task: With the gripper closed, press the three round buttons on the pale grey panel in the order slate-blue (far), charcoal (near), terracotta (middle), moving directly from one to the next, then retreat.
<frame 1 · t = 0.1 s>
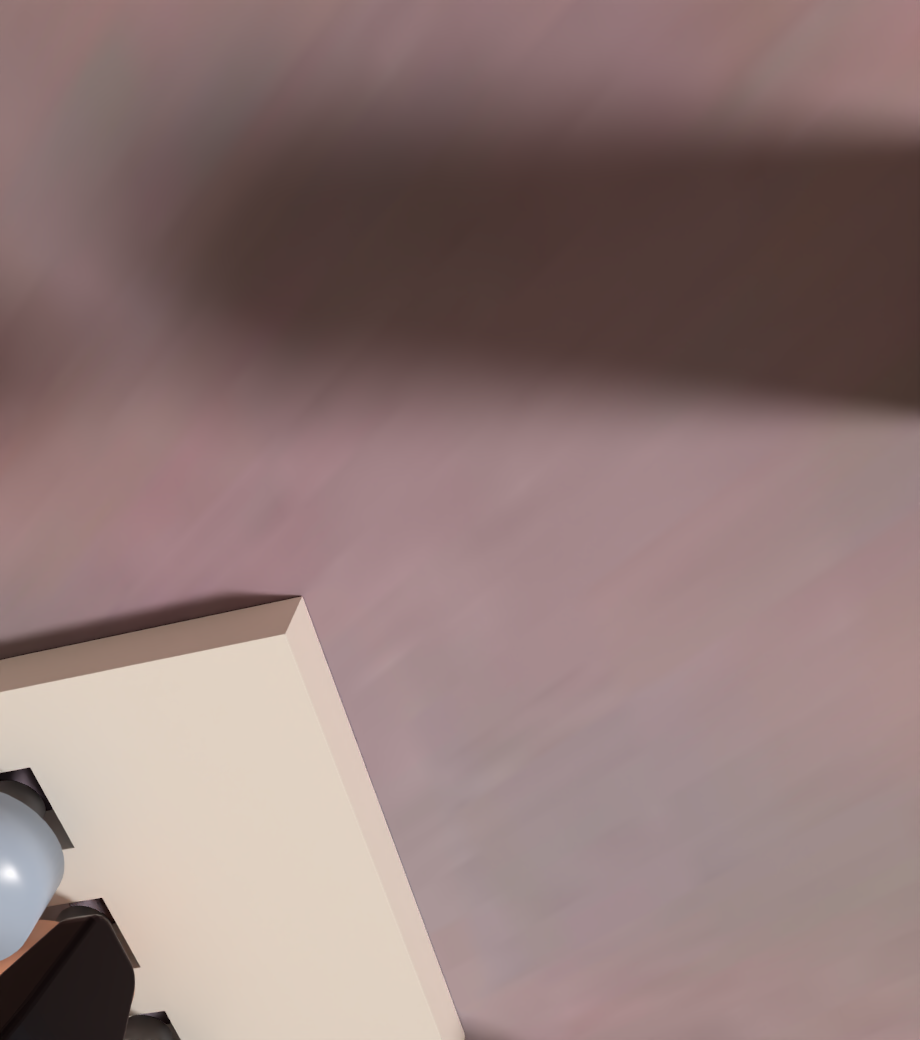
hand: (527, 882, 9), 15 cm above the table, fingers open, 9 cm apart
terracotta button: (58, 976, 26), point 3 cm above the table, slide at 0.0 cm
panel: (105, 889, 29), on the table
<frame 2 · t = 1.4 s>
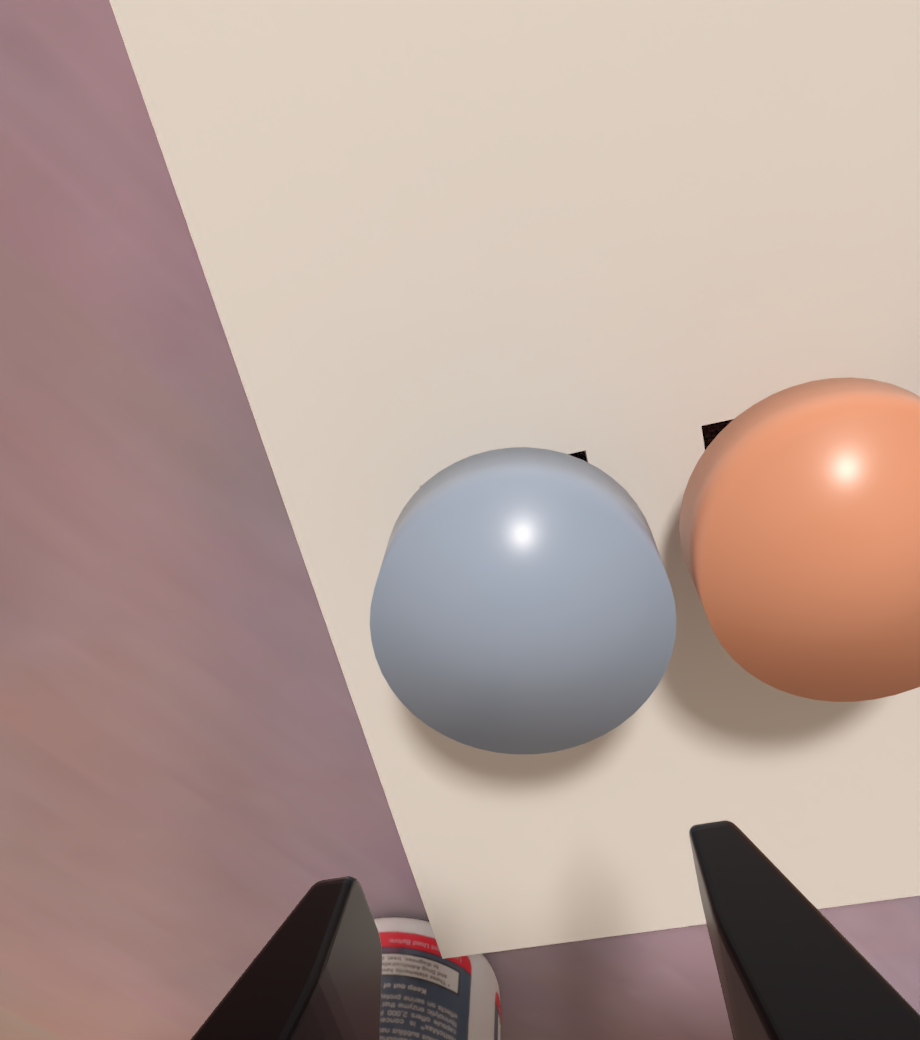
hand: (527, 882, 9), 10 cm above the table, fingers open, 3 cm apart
terracotta button: (823, 517, 14), point 3 cm above the table, slide at 0.0 cm
slate button: (520, 576, 15), point 3 cm above the table, slide at 0.0 cm
panel: (768, 450, 17), on the table
pill bottle: (404, 975, 24), on the table
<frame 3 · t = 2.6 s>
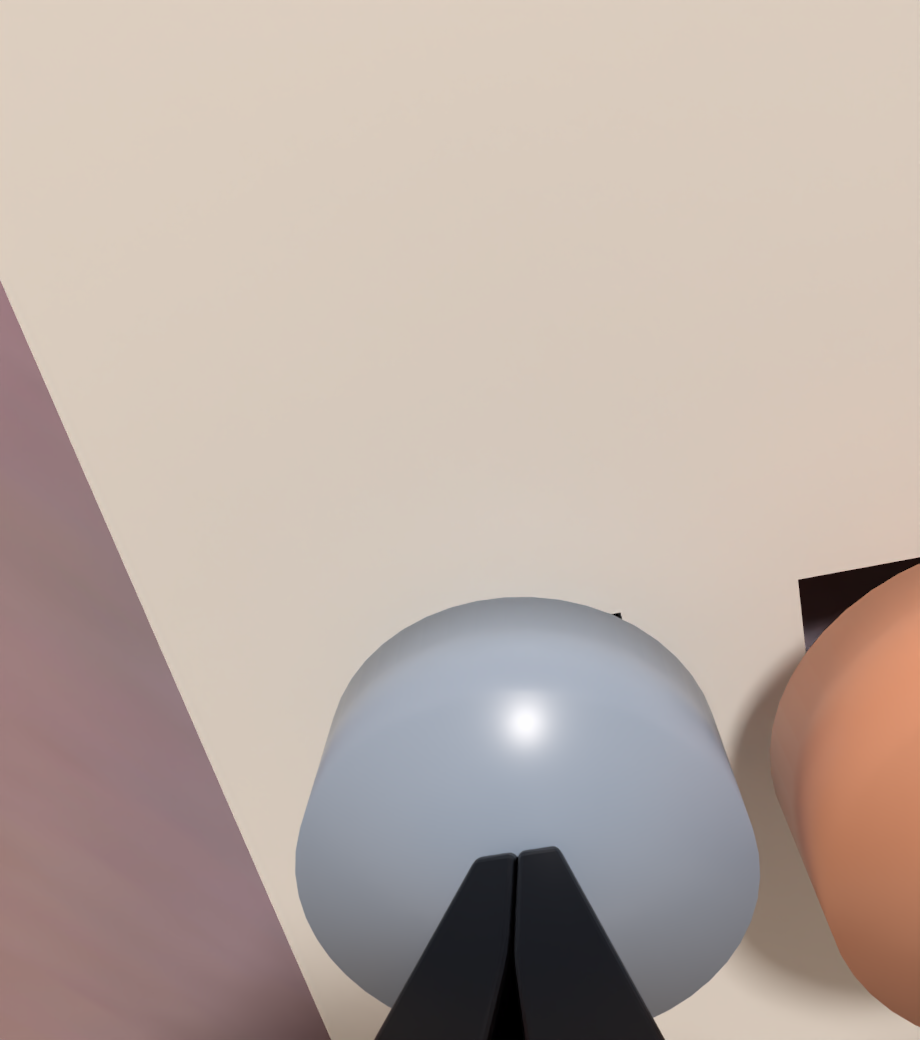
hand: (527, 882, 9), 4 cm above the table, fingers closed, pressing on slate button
slate button: (521, 768, 10), point 3 cm above the table, slide at 0.7 cm, touching gripper
panel: (876, 586, 12), on the table
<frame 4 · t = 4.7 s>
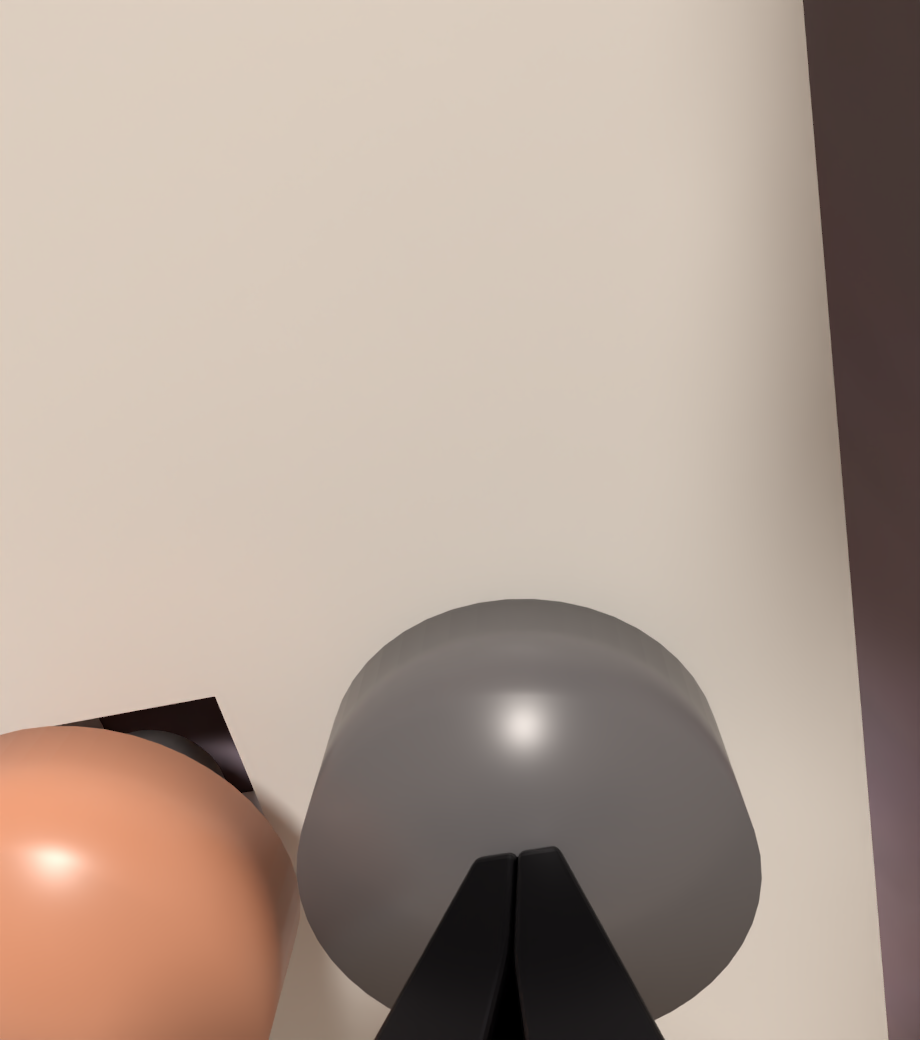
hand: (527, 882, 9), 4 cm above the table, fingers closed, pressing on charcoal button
charcoal button: (522, 770, 10), point 2 cm above the table, slide at 0.9 cm, touching gripper
terracotta button: (105, 887, 10), point 3 cm above the table, slide at 0.0 cm
panel: (197, 717, 13), on the table
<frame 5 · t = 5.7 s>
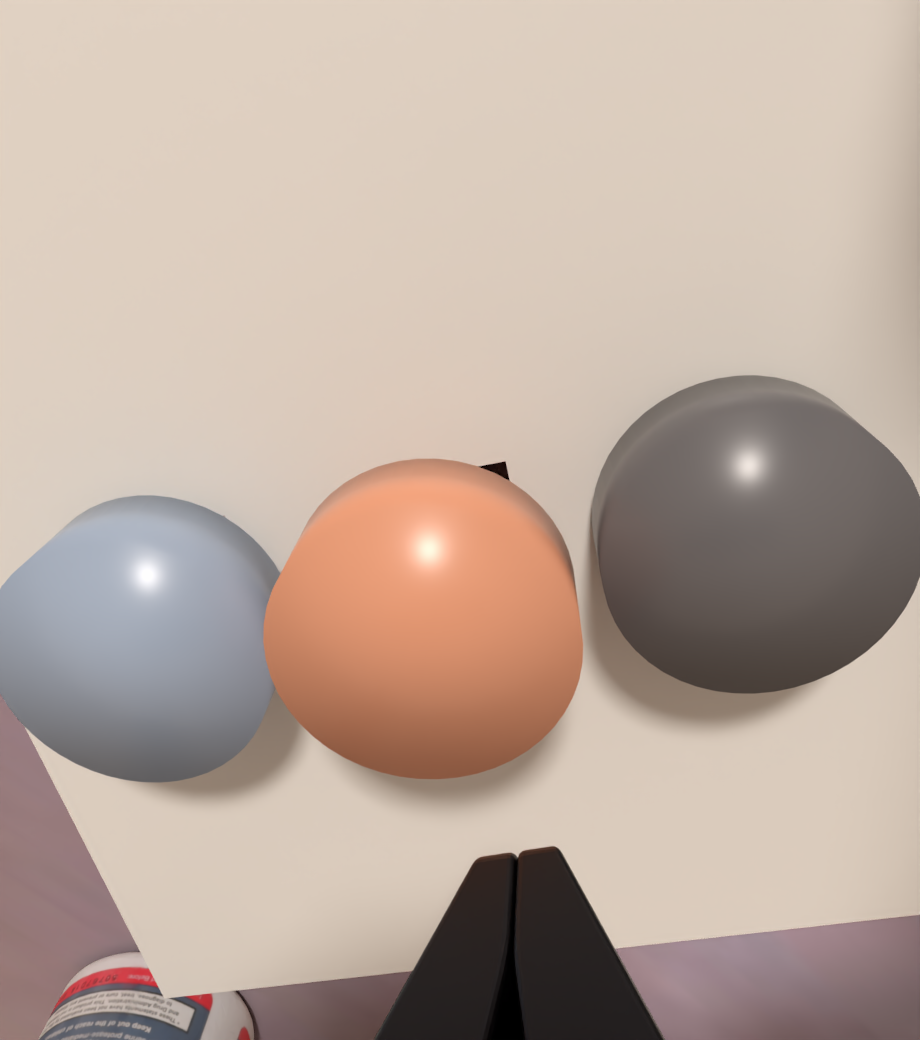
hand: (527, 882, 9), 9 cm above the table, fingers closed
charcoal button: (733, 512, 14), point 2 cm above the table, slide at 1.0 cm
terracotta button: (432, 591, 14), point 3 cm above the table, slide at 0.0 cm
slate button: (167, 613, 16), point 2 cm above the table, slide at 0.9 cm
panel: (446, 510, 17), on the table
pill bottle: (164, 1007, 24), on the table
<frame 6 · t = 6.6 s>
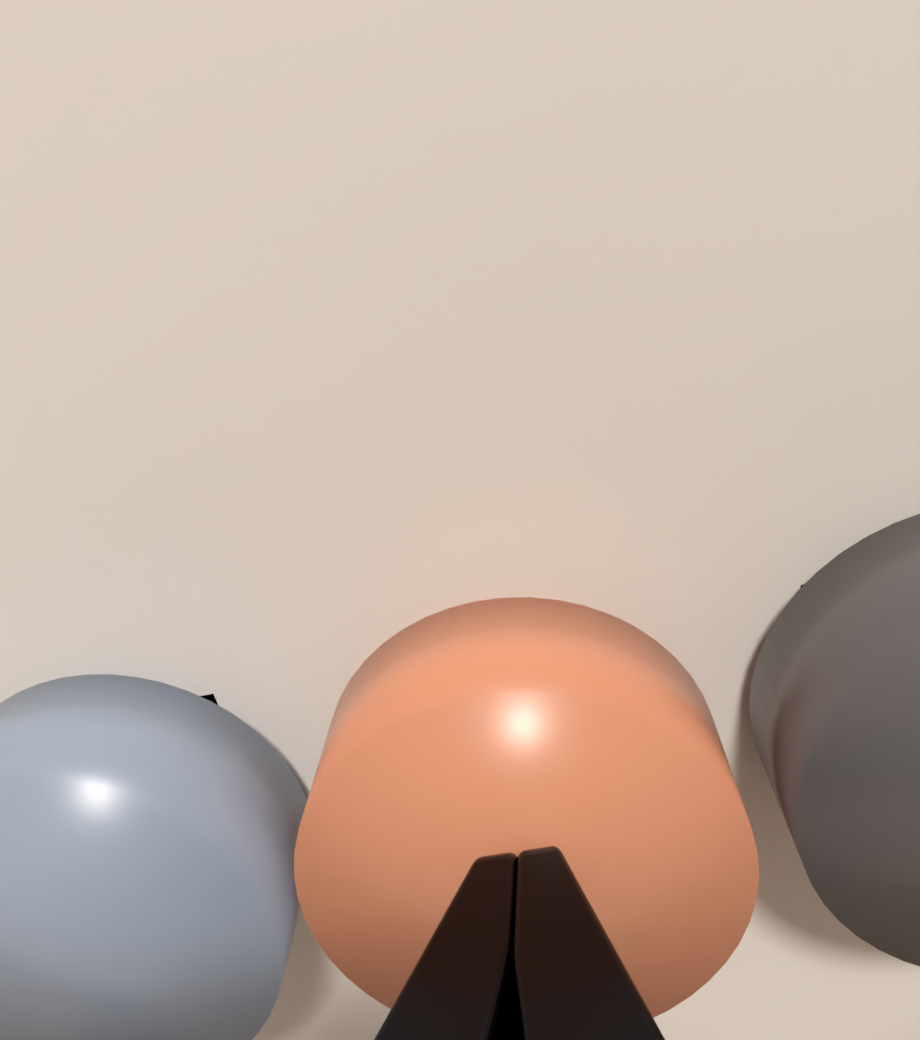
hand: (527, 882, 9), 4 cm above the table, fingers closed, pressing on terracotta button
terracotta button: (520, 768, 10), point 2 cm above the table, slide at 0.9 cm, touching gripper
slate button: (135, 827, 11), point 2 cm above the table, slide at 0.9 cm
panel: (518, 656, 13), on the table
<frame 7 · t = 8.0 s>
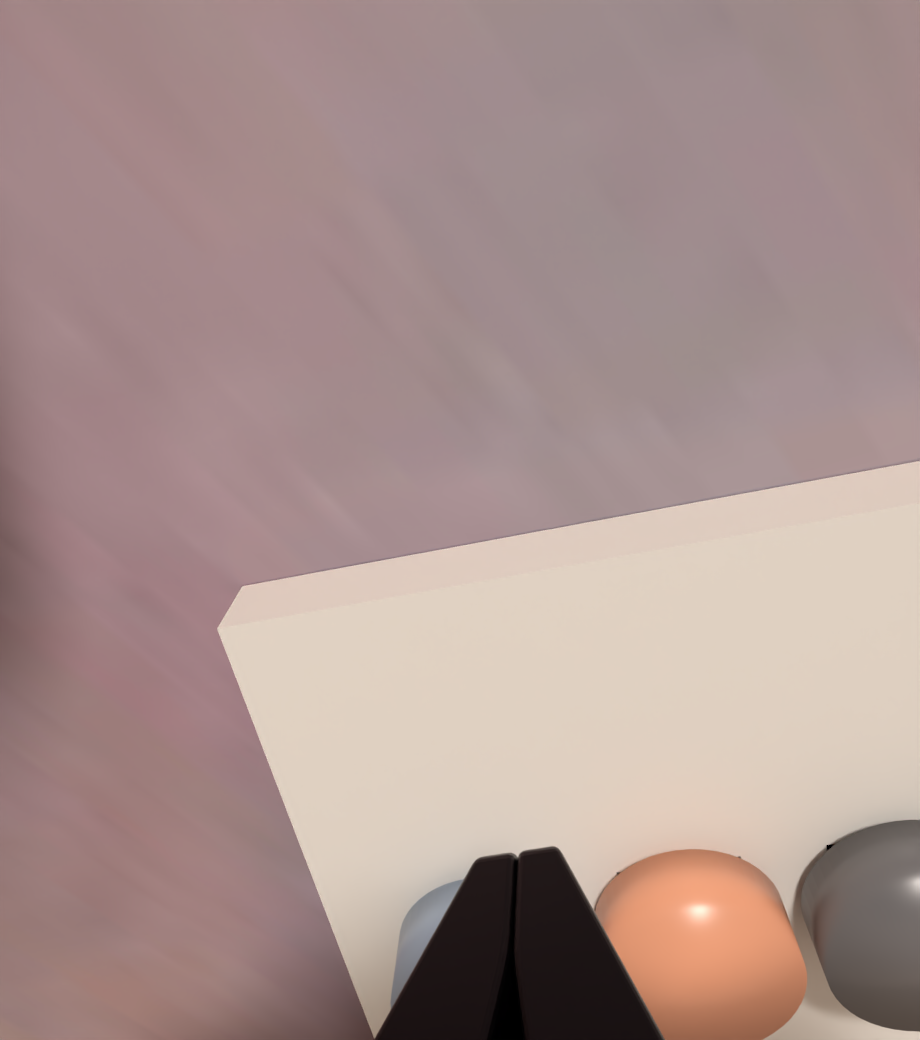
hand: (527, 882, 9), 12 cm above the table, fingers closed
charcoal button: (899, 895, 21), point 2 cm above the table, slide at 1.0 cm
terracotta button: (688, 921, 22), point 2 cm above the table, slide at 1.0 cm
slate button: (489, 945, 22), point 2 cm above the table, slide at 0.9 cm
panel: (672, 850, 24), on the table
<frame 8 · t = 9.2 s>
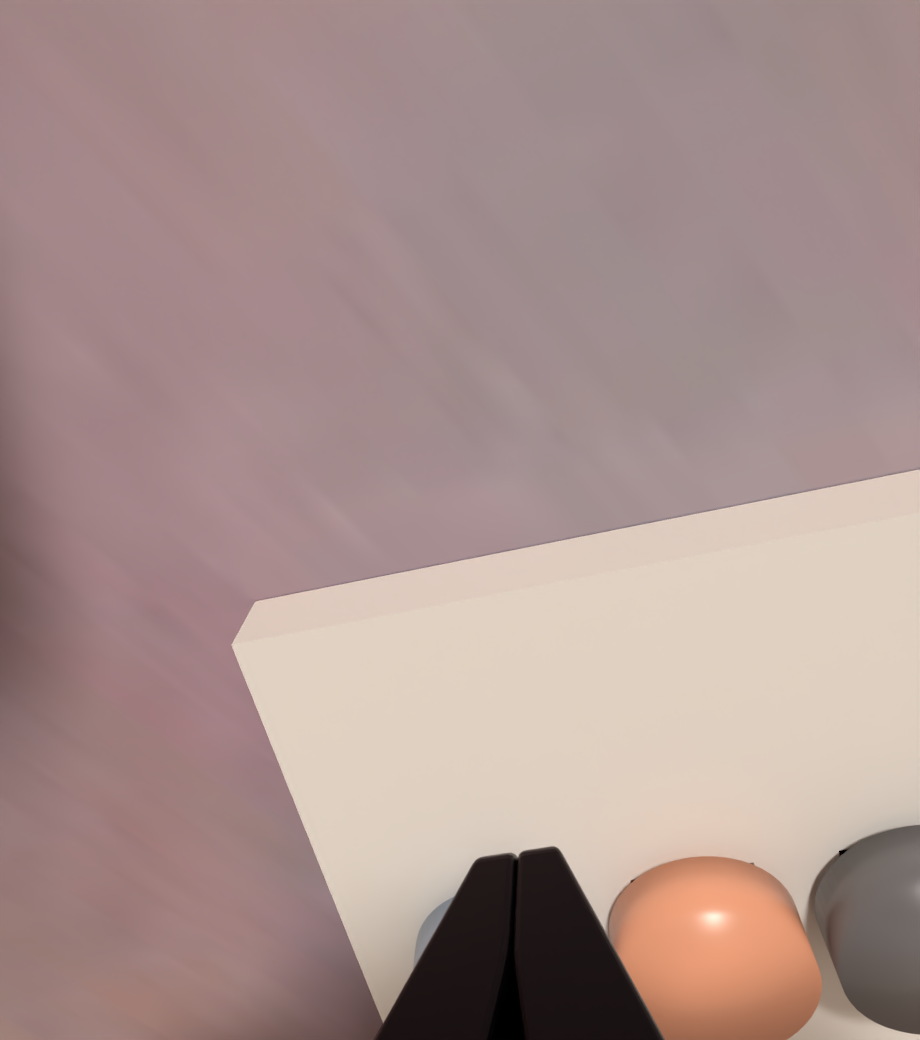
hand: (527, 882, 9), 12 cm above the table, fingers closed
charcoal button: (913, 899, 21), point 2 cm above the table, slide at 1.0 cm
terracotta button: (702, 927, 22), point 2 cm above the table, slide at 1.0 cm
slate button: (505, 953, 23), point 2 cm above the table, slide at 0.9 cm
panel: (685, 856, 24), on the table
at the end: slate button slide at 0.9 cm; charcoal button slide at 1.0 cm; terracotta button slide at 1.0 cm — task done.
